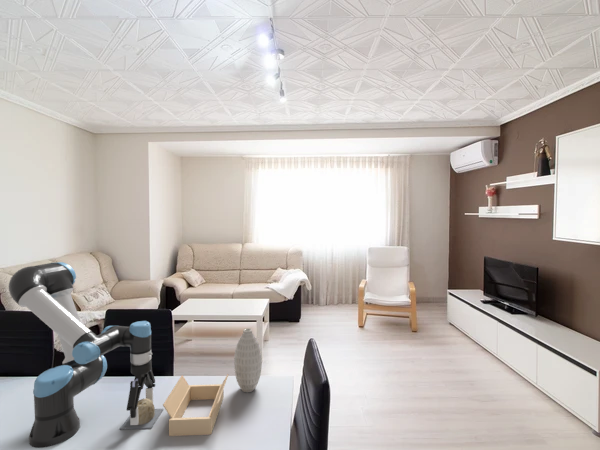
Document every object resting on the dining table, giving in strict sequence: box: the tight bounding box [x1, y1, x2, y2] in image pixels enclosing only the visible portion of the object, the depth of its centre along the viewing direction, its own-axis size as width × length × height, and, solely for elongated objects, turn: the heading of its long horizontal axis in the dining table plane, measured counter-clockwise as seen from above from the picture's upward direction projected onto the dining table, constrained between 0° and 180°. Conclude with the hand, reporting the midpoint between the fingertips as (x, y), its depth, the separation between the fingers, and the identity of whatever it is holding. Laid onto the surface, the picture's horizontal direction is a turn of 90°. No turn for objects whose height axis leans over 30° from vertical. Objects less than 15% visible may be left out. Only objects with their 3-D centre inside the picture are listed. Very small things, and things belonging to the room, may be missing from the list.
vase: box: [233, 328, 263, 393], centre depth 150 cm, size 13×13×28 cm
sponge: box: [137, 397, 156, 425], centre depth 129 cm, size 9×10×10 cm
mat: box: [119, 408, 164, 431], centre depth 129 cm, size 12×12×1 cm
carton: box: [162, 373, 230, 437], centre depth 131 cm, size 20×24×11 cm
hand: (142, 413), depth 129 cm, fingers open, 13 cm apart
